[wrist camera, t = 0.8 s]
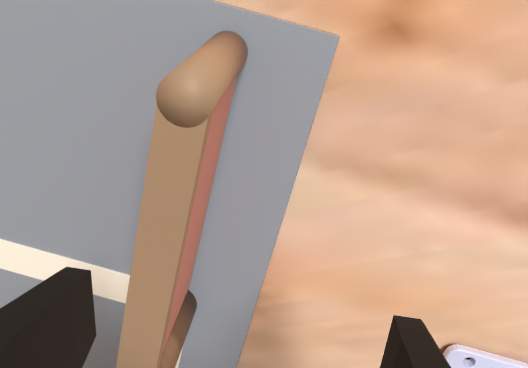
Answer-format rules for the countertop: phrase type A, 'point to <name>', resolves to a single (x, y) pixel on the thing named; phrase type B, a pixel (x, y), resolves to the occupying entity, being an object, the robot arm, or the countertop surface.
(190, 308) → the fence fixed
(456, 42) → the countertop surface
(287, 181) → the card
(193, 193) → the fence gate
